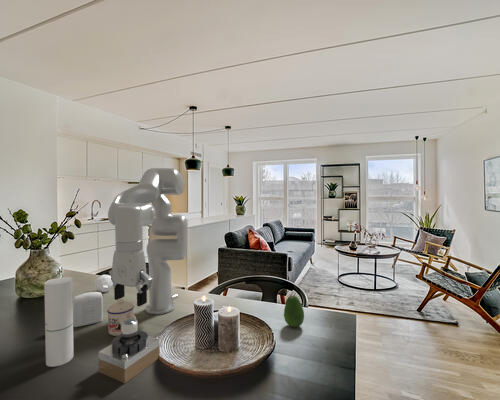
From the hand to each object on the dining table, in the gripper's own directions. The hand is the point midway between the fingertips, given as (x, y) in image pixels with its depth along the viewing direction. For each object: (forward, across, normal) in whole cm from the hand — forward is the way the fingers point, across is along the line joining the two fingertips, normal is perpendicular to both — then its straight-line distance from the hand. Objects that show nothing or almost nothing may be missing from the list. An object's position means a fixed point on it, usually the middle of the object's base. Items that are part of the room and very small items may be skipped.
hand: (130, 301), depth 83 cm
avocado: (+20, +39, +44) cm, 62 cm away
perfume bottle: (+22, -62, +35) cm, 75 cm away
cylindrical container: (+20, -21, -9) cm, 30 cm away
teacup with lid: (+20, -18, +12) cm, 30 cm away
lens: (+13, 0, -1) cm, 13 cm away
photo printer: (+20, -36, +10) cm, 43 cm away
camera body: (+19, +1, -1) cm, 19 cm away
